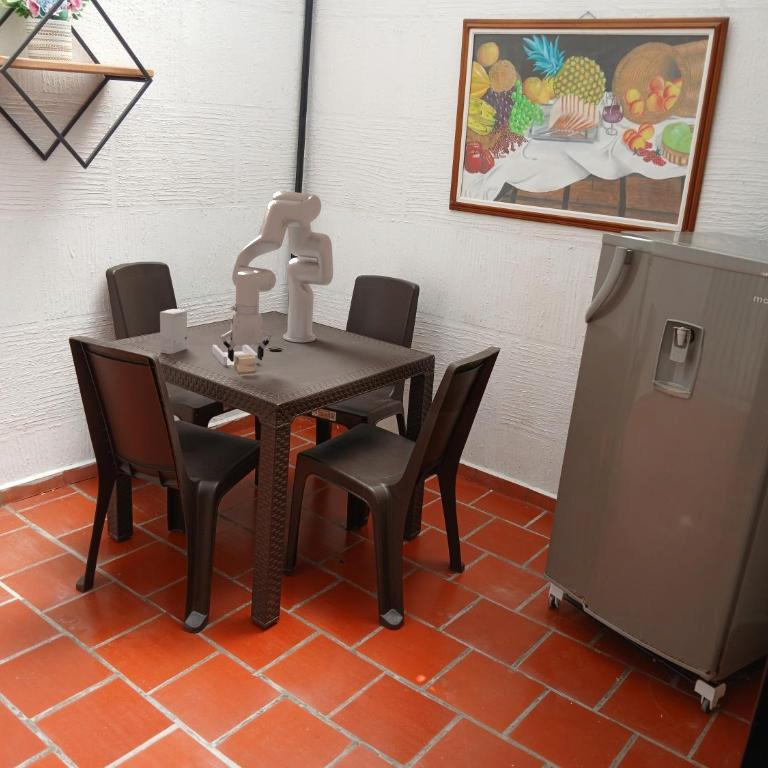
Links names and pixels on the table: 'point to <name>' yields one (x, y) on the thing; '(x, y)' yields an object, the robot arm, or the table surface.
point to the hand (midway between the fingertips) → (245, 359)
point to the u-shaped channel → (224, 355)
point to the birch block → (244, 363)
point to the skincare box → (173, 331)
